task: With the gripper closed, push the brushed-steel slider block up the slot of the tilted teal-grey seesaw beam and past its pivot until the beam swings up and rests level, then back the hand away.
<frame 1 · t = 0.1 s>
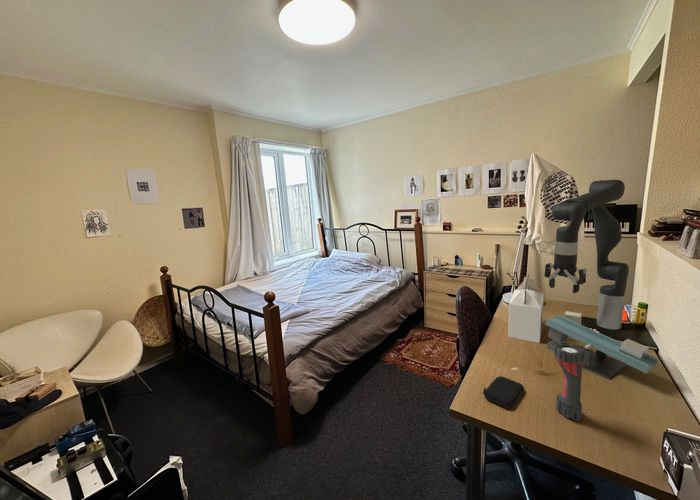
hand: (563, 290, 120), 29 cm above the table, tool pointing down, fingers open, 8 cm apart
beam stand: (593, 362, 118), on the table
seesaw beam: (594, 345, 117), point 7 cm above the table, hinge at -9.1°, touching steel slider
carrying case or bag: (502, 394, 105), on the table
gable box: (525, 331, 147), on the table
steel slider: (630, 356, 107), point 8 cm above the table, tilted 9°, touching seesaw beam
flashlight: (565, 411, 95), on the table
skincare box: (571, 337, 138), on the table
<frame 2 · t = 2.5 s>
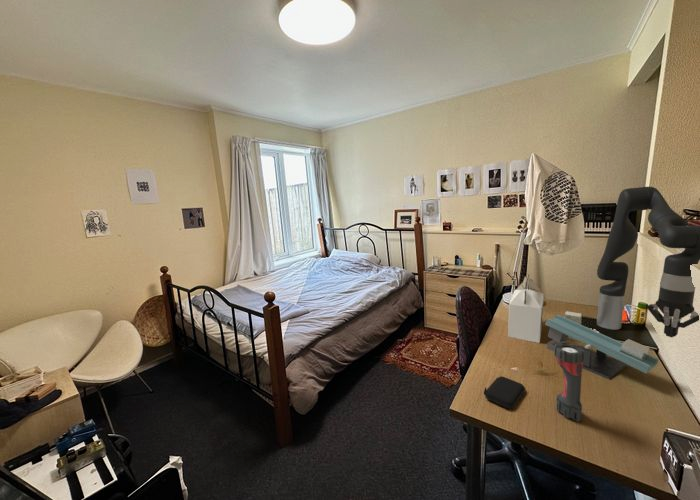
hand: (670, 336, 96), 20 cm above the table, tool pointing down, fingers closed
nothing on the table moved.
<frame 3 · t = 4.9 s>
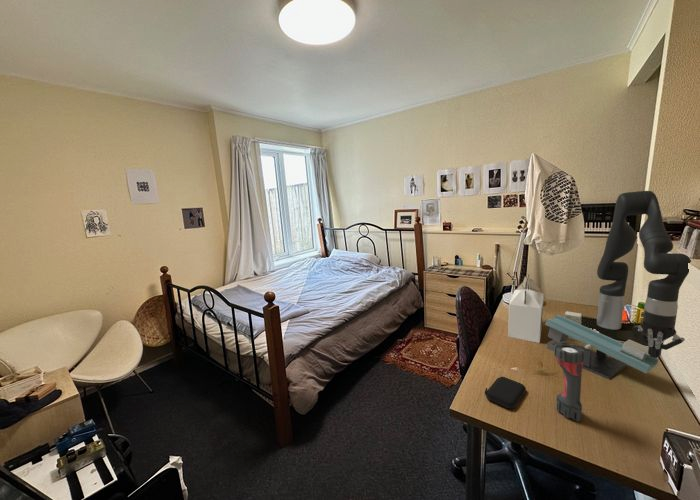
hand: (653, 356, 101), 11 cm above the table, tool pointing down, fingers closed
seesaw beam: (594, 345, 117), point 7 cm above the table, hinge at -9.1°
steel slider: (632, 356, 106), point 8 cm above the table, tilted 9°, touching gripper
everything else where it was.
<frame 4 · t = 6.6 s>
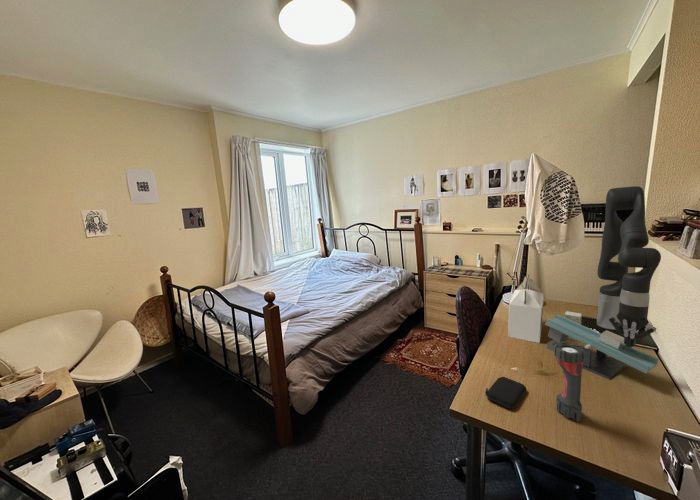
hand: (629, 346, 107), 12 cm above the table, tool pointing down, fingers closed
seesaw beam: (594, 345, 117), point 7 cm above the table, hinge at -9.1°, touching steel slider
steel slider: (609, 346, 112), point 9 cm above the table, tilted 9°, touching gripper, seesaw beam
everything else where it was.
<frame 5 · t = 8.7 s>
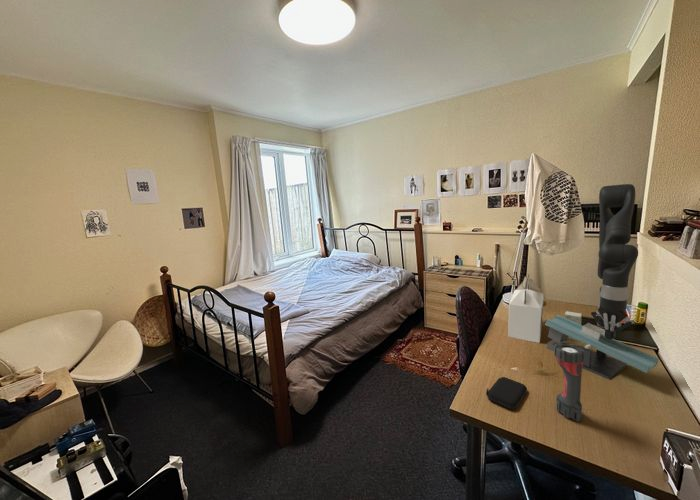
hand: (609, 338, 111), 13 cm above the table, tool pointing down, fingers closed
seesaw beam: (594, 345, 117), point 7 cm above the table, hinge at -8.4°, touching steel slider
steel slider: (591, 338, 117), point 10 cm above the table, tilted 8°, touching gripper, seesaw beam
everything else where it was.
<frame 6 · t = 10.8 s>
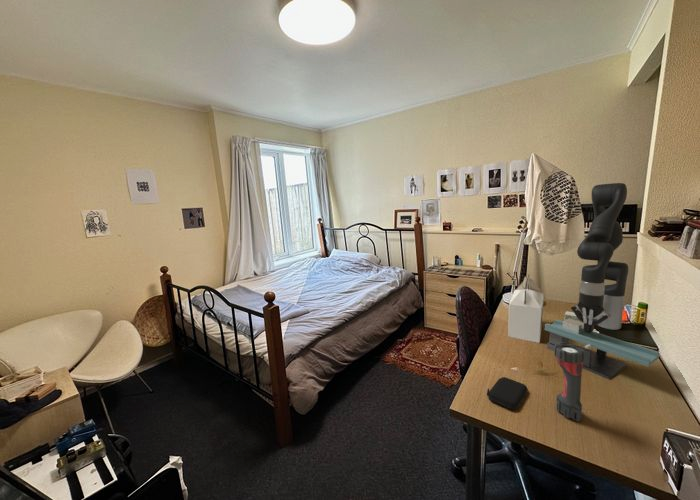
hand: (588, 331, 118), 13 cm above the table, tool pointing down, fingers closed
seesaw beam: (594, 346, 116), point 7 cm above the table, hinge at 0.2°, touching steel slider
steel slider: (572, 332, 122), point 10 cm above the table, touching gripper, seesaw beam
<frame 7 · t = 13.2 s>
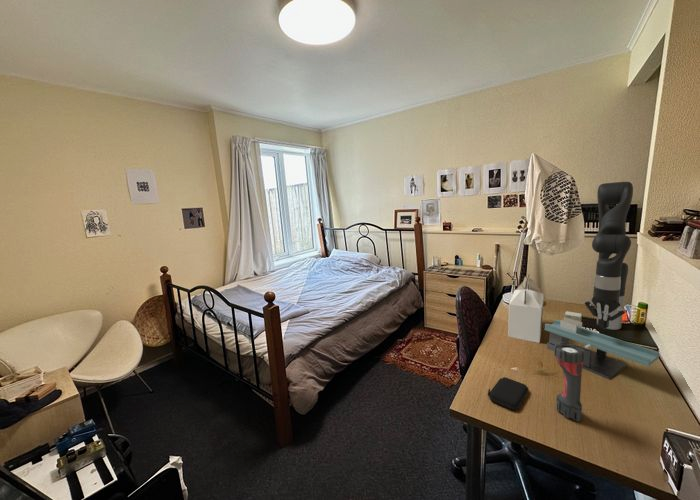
hand: (602, 327, 113), 16 cm above the table, tool pointing down, fingers closed
steel slider: (570, 332, 123), point 10 cm above the table, touching seesaw beam
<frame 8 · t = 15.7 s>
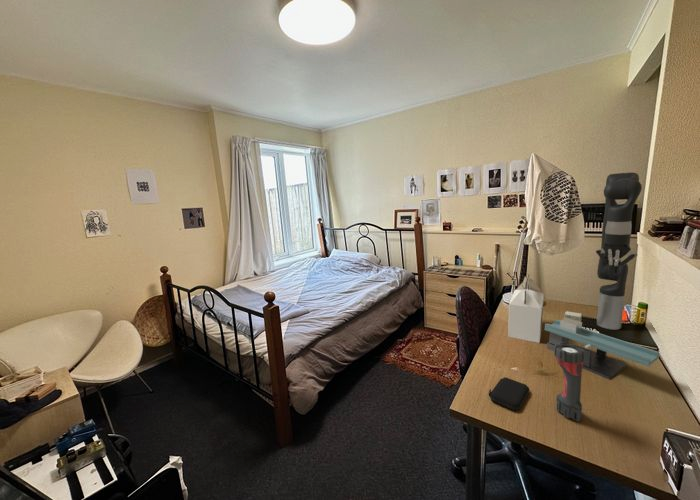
hand: (613, 274, 118), 35 cm above the table, tool pointing down, fingers closed
at the end: seesaw beam at +0° (first picture: -9°); steel slider inside the target area on the seesaw beam (0.7 cm from its centre), point 1.2 cm above the seesaw beam's base; the gripper is holding nothing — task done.
